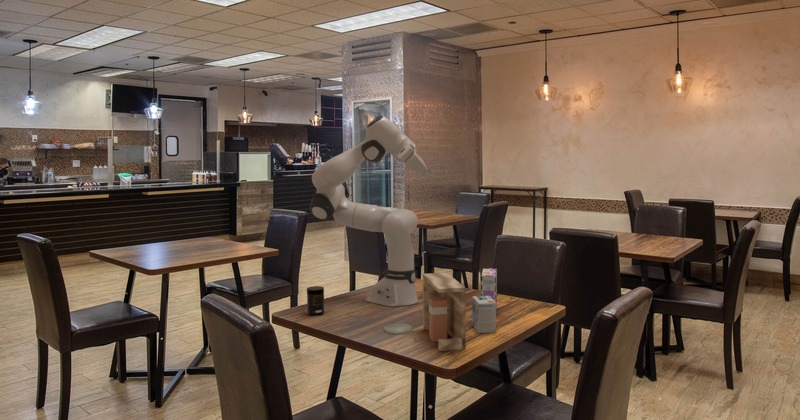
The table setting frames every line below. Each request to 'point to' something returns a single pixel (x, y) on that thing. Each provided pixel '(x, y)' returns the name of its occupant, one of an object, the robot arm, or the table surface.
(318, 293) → the supplement container
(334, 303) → the table surface
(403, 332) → the disc
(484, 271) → the candy box
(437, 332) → the carton
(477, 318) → the light bulb box
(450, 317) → the shelf
